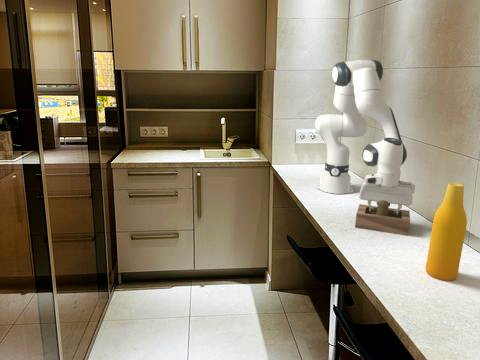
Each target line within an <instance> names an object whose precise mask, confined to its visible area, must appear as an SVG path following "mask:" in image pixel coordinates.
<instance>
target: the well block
mask: <svg viewBox="0 0 480 360" xmlns="http://www.w3.org/2000/svg"><path fill="white" fill-rule="evenodd" d="M372 206H373V207H374V209H373V212H372V211H369V210H370V207H369V205H368V204H362V203H359V204H358V208H357V211H356V216H355V224H354V228H356V229H362V230H369V231H376V232H383V233H389V234H395V235H402V236H409V234H410V227H411V215H410V214H411V212H410V210H407V209H400V210H399V211H398V215H394V209H395V210H397V208H391V207H388V216H381V215H375V214H376V211H377V207H378V205H372Z"/></svg>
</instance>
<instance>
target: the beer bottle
mask: <svg viewBox="0 0 480 360" xmlns="http://www.w3.org/2000/svg"><path fill="white" fill-rule="evenodd" d="M444 194H445V195H444V197H443V200H442V203H441V205H440V206H439V207H438V209H437V210H436V211H435V214H434V216H433V220H432V226H431V227H432V228H431V233H430V240H429V244H428V245H429V246H428V251H427V259H426V262H425V272H426V274H427V275H428V276H430V277H432V278H434V279H437V280H441V281H448V280H449V281H455V280H456V279H457V278H458V275H459V269H460V264H461V263H460V262H461V257H462V251H463V247H464V243H465V242H464V241H465V235H466V230H467V226H468V225H467V223H468V220H467V219H468V218H467V213H466V211H465V207H464V194H465V185H464V184H462V183H457V182H449V183H448V184H447V188H446V190H445V193H444Z"/></svg>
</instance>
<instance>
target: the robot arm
mask: <svg viewBox="0 0 480 360" xmlns="http://www.w3.org/2000/svg"><path fill="white" fill-rule="evenodd" d="M383 75H384V67H383V64H382V63H381V62H380V61H379V60H376V59H370V60H369V59H357V60H350V61H349V60H348V61H340V62H337V63H335V64H334V66H333V68H332V72H331V76H332V82H333V83H334V84H335V87H334V93H333V94H334V95H333V101H332V102H333V106H334V108H335V109H337V111H338V112H341V113H342V114H336V113H324V114H320V115H318V116H317V117H316V119H315V122H314V129H315V132H316V133H317V134H318V135H319V136H320V137H321V138H322V140H323V141H324V143H325V146H326V162H325V165H324V171H322V172H321V174H320V182H319V184H318V185H316V189H317V190H321V192H325V193H329V194H334V195H335V194H336V195H337V194H338V195H344V194H351V193H352V194H353V193H354V189H353V186H352V182H351V177H352V176H350V174H349V171H350V164H349V161H350V148H349V147H348V145H346V144H344V143H342V142H341V141H340V140H339V138H359V137H363V136H365V134H366V133H367V131H368V128H369V125H368V121H367V119H366V118H365V116H366V117H368V118H371V119H373V120H374V121H376V122H378V123H379V124H380V125H381V127H382V130H383V133H384V135H385V137H384V138H383V139H382V140H381V141H378V142H374V143H368V144H366V146H364V148H363V150H362V154H361V157H362V161H363V163H364V165H366V166H368V167H370V168H371V167H373V168H377V170H376V172H375V173H369V174H366V175H365V176H364V181H363V182H362V184H361V186H360V190H359V195H358V197H359V199H360V200H362V201H367V205H369V207H370V210H369V211H372V212H373V209H374V207H373V206H374V205H372V202H376V203H377V202H379V201H381V200H385V201H387V202H388V203H390V205H391V204H394V205H397V208H393V209H394V215H398V211H399V210H402V209H401V208H402V207H403V206H407V207H410V206H411V205H412V204H413V194H414V193H415V191H416V186H415V184H414V183H413V182H411V181H404V180H400V179H401V173H402V172H401V166H403V164H405V162H406V160H407V158H408V153H407V151H408V150H407V148H406V146H405V144H404V142H403V140H402V137H401V134H400V131H399V127H398V124H397V122H396V121H397V120H396V118H395V115H394V112H393V109H392V107H391V106H389V105H388V103H387V102H386V99H385V98H384V94H383V90H382V84H381V80H382V79H383ZM363 115H364V116H363ZM395 209H397V210H395Z"/></svg>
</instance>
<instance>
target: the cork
mask: <svg viewBox="0 0 480 360" xmlns="http://www.w3.org/2000/svg"><path fill="white" fill-rule="evenodd" d="M376 206H378V207H377V211H376V214H375V215H381V216H388V208H390V206H391V203H388V202H387V201H385V200H381V201H379V202H376Z"/></svg>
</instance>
